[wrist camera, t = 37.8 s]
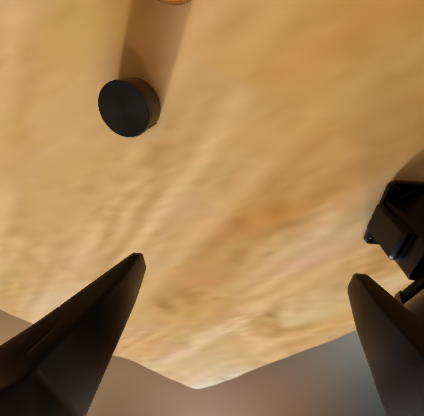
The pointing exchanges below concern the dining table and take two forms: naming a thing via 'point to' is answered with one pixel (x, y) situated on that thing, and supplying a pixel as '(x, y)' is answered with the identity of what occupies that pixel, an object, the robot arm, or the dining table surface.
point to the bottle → (174, 1)
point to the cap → (129, 106)
